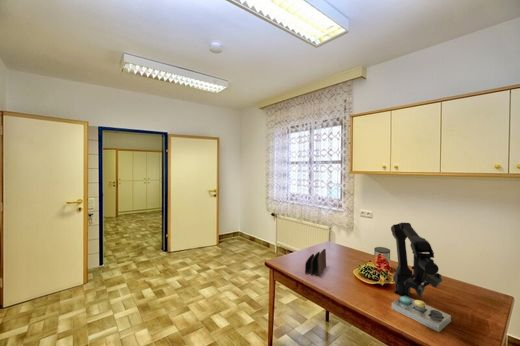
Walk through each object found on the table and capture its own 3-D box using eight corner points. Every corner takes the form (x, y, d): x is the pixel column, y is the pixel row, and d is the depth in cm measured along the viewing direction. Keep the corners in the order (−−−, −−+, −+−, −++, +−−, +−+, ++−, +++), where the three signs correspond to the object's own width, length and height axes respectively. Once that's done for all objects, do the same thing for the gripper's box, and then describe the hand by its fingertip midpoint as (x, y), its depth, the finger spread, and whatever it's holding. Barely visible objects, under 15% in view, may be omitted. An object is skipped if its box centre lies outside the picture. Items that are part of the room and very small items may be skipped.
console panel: (391, 308, 124) (391, 302, 124) (404, 300, 131) (404, 295, 131) (438, 332, 106) (438, 325, 106) (450, 321, 113) (450, 315, 113)
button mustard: (412, 310, 119) (412, 301, 119) (417, 307, 122) (417, 299, 122) (422, 314, 116) (422, 306, 115) (427, 311, 118) (427, 303, 118)
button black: (428, 320, 114) (428, 312, 113) (432, 317, 116) (432, 308, 116) (439, 326, 110) (439, 317, 110) (444, 322, 112) (444, 313, 112)
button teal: (398, 306, 125) (398, 298, 125) (402, 303, 128) (402, 295, 128) (407, 310, 121) (407, 302, 121) (411, 307, 124) (412, 299, 124)
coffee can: (371, 265, 177) (371, 247, 176) (385, 265, 177) (385, 246, 176) (378, 272, 166) (379, 252, 166) (393, 271, 167) (393, 251, 166)
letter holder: (326, 266, 177) (326, 247, 177) (319, 277, 160) (319, 256, 159) (313, 263, 182) (313, 245, 181) (304, 274, 165) (304, 253, 164)
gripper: (430, 277, 106) (429, 311, 107) (447, 267, 116) (447, 298, 117) (404, 268, 116) (403, 299, 116) (422, 259, 126) (421, 288, 126)
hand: (419, 296), depth 119 cm, fingers closed
